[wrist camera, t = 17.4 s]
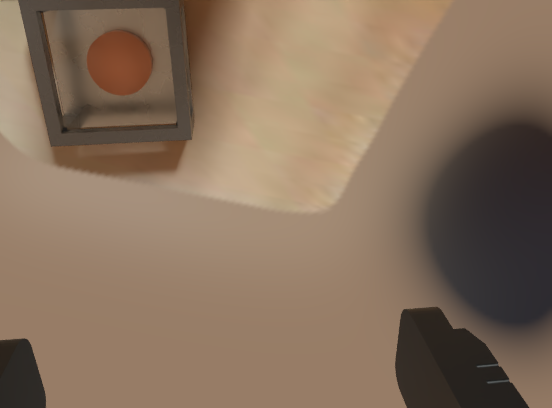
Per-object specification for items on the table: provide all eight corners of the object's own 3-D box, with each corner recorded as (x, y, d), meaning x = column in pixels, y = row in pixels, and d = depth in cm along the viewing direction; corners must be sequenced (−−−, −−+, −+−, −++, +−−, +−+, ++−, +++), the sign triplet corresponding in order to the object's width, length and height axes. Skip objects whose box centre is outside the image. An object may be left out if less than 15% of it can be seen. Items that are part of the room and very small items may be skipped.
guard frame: (41, -9, 40) (17, -5, 35) (182, -13, 41) (177, -8, 36) (68, 126, 44) (51, 146, 40) (194, 120, 45) (191, 139, 41)
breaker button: (85, 31, 41) (81, 33, 39) (148, 29, 41) (146, 31, 40) (96, 92, 43) (92, 96, 42) (155, 90, 43) (154, 94, 42)
